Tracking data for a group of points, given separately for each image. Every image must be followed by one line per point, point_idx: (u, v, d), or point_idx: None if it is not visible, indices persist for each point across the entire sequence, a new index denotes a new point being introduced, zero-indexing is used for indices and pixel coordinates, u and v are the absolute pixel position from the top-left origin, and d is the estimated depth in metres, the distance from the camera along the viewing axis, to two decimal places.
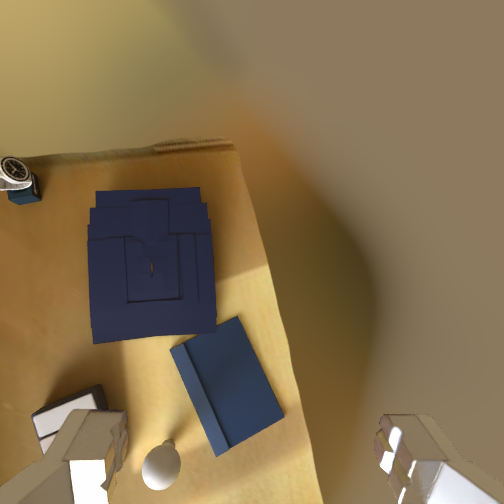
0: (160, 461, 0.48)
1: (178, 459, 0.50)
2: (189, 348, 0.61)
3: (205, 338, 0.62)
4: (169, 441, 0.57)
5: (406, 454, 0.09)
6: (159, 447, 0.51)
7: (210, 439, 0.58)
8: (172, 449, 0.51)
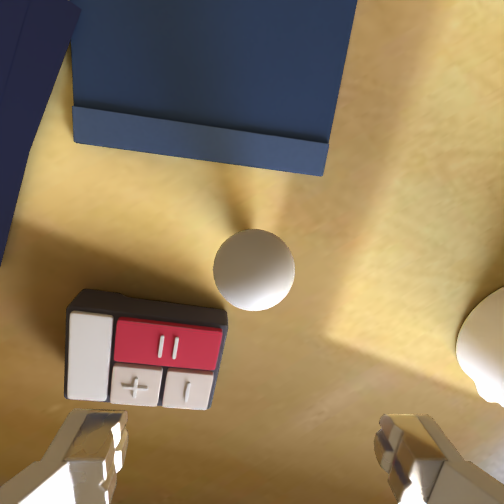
0: (235, 267, 0.20)
1: (262, 234, 0.22)
2: (91, 100, 0.25)
3: (86, 48, 0.24)
4: None
5: (406, 454, 0.09)
6: (216, 255, 0.22)
7: (288, 167, 0.28)
8: (237, 234, 0.22)
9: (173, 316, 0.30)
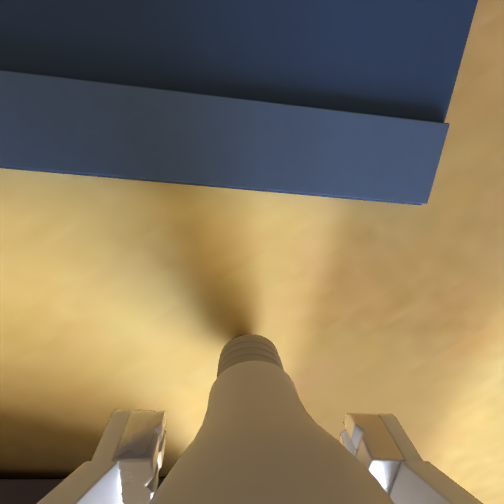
0: None
1: None
2: None
3: None
4: (226, 357, 0.12)
5: (365, 454, 0.08)
6: None
7: (342, 188, 0.11)
8: None
9: None
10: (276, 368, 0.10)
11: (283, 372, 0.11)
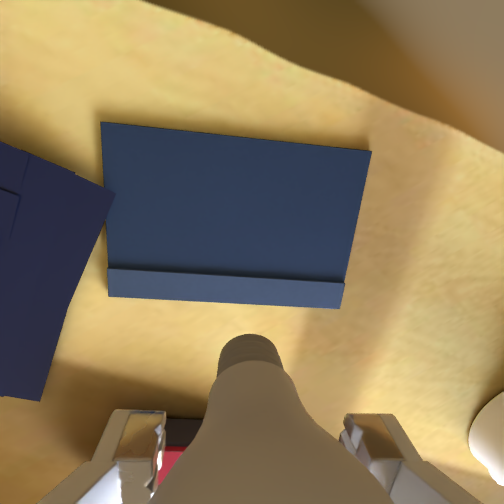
0: None
1: None
2: (124, 261, 0.27)
3: (119, 221, 0.26)
4: (226, 357, 0.12)
5: (364, 454, 0.08)
6: None
7: (307, 304, 0.30)
8: None
9: None
10: (276, 368, 0.10)
11: (283, 372, 0.11)
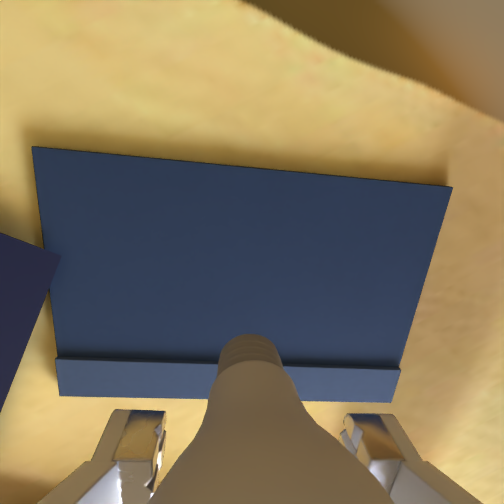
0: None
1: None
2: (81, 348, 0.18)
3: (71, 292, 0.17)
4: (226, 357, 0.12)
5: (364, 454, 0.08)
6: None
7: (346, 398, 0.21)
8: None
9: None
10: (276, 367, 0.10)
11: (283, 371, 0.10)
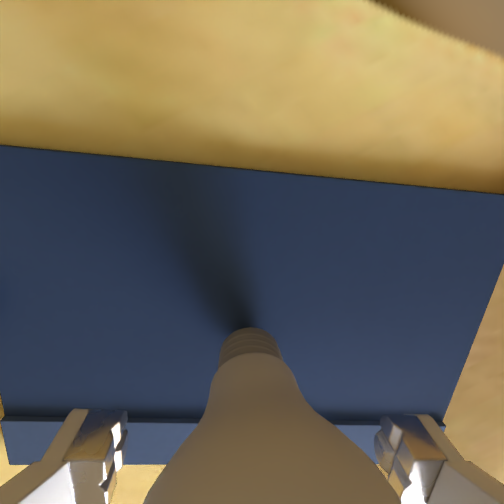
0: None
1: None
2: (36, 405, 0.14)
3: (17, 337, 0.13)
4: (227, 350, 0.12)
5: (406, 454, 0.09)
6: None
7: (375, 460, 0.17)
8: (201, 492, 0.05)
9: None
10: (276, 359, 0.11)
11: (283, 363, 0.11)
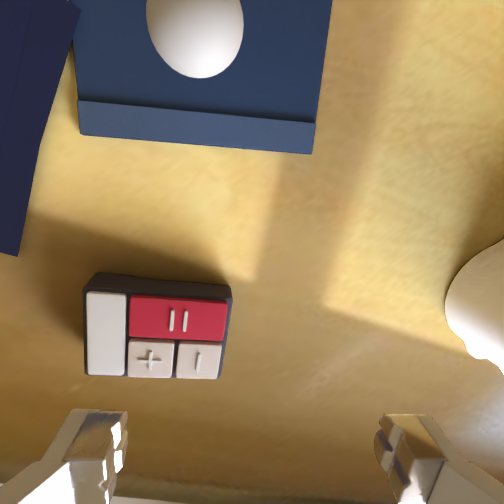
0: None
1: None
2: (94, 94, 0.27)
3: (87, 45, 0.26)
4: None
5: (406, 454, 0.09)
6: None
7: (279, 147, 0.30)
8: None
9: (181, 292, 0.32)
10: None
11: None
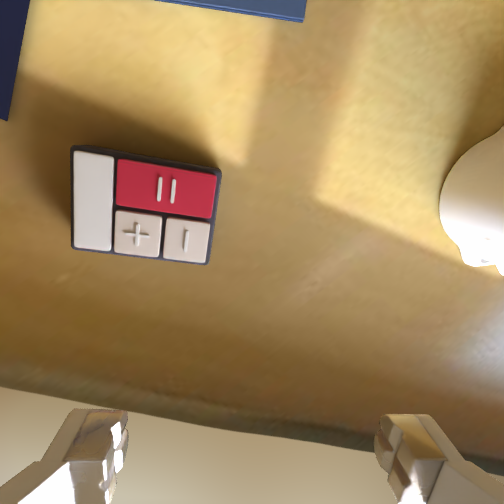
0: None
1: None
2: None
3: None
4: None
5: (406, 454, 0.09)
6: None
7: (271, 10, 0.30)
8: None
9: (170, 161, 0.32)
10: None
11: None
